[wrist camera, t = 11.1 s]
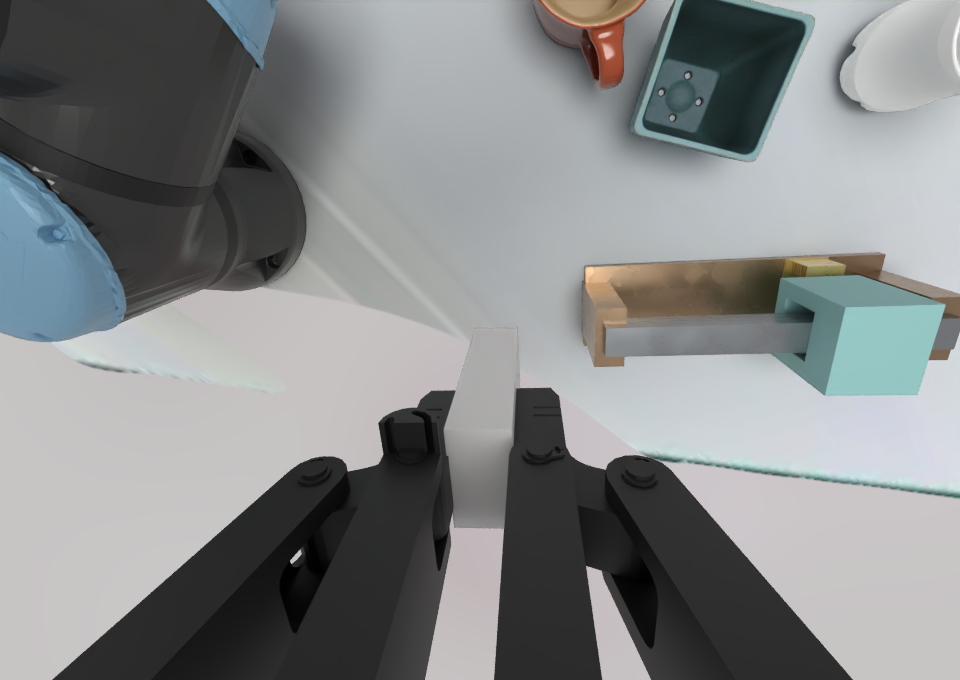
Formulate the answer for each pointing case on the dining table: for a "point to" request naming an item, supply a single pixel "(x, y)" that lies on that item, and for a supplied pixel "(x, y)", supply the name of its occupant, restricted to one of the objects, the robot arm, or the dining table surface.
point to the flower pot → (720, 75)
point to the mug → (590, 32)
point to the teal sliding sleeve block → (860, 335)
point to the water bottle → (906, 57)
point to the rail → (723, 306)
